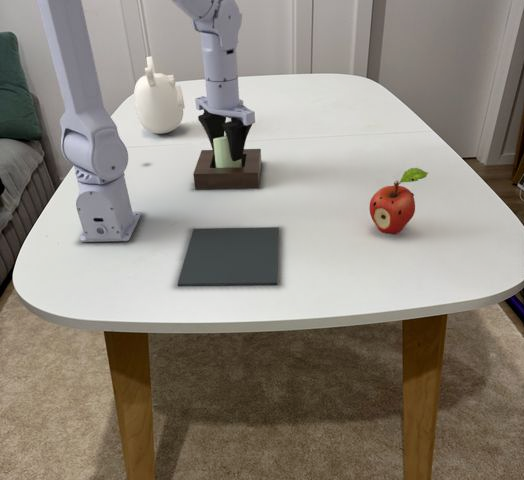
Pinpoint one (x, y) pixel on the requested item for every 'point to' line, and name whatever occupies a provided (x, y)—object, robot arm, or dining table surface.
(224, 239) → the mat
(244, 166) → the holder
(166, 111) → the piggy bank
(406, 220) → the apple
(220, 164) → the candle
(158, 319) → the dining table surface
